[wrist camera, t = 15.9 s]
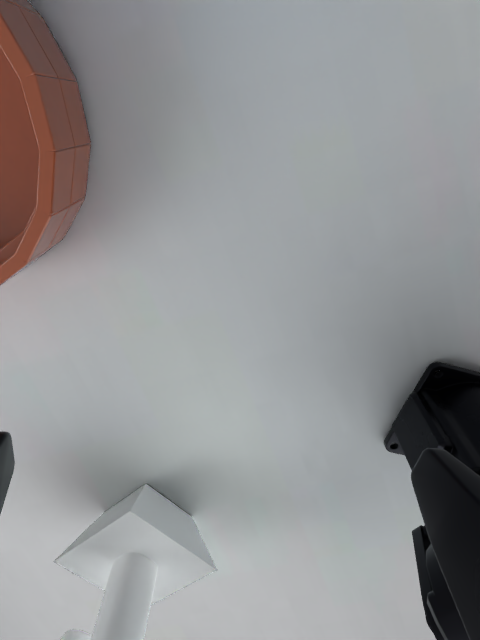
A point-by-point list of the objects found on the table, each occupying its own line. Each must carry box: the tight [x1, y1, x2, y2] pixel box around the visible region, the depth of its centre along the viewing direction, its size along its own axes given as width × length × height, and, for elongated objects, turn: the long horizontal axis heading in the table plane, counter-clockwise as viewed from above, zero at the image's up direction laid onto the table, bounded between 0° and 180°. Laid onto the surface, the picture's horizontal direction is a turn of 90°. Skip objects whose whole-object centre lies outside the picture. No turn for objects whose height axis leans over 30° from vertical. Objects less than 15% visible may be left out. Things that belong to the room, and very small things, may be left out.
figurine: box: [54, 484, 217, 640], centre depth 22 cm, size 7×9×15 cm
